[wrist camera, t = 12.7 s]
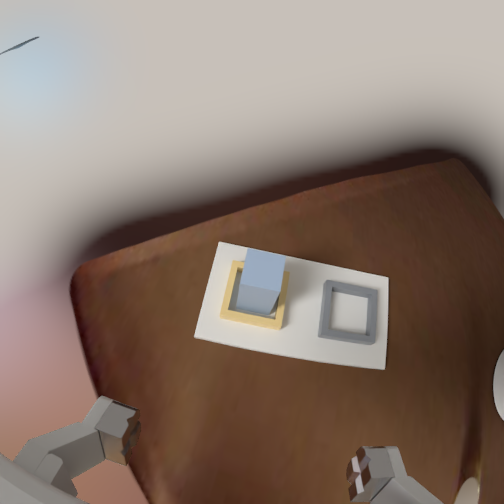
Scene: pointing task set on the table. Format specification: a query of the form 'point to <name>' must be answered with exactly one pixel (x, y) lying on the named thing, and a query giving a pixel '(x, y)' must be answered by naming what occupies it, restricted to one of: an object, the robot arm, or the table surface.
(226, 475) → the table surface
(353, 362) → the white board with frames
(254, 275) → the plug
